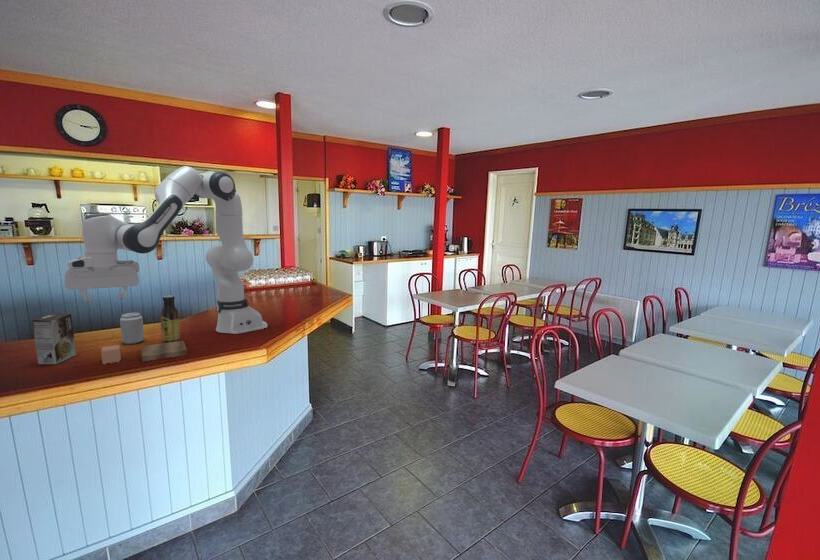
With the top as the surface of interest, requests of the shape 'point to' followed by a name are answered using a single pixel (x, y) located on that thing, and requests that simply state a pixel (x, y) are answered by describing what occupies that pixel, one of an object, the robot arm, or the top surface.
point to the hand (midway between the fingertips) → (105, 300)
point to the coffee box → (54, 338)
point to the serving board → (163, 351)
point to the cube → (111, 354)
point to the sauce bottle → (169, 320)
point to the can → (131, 328)
